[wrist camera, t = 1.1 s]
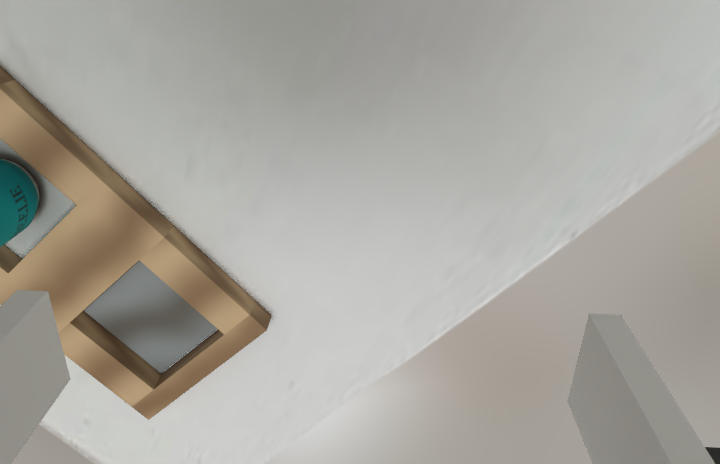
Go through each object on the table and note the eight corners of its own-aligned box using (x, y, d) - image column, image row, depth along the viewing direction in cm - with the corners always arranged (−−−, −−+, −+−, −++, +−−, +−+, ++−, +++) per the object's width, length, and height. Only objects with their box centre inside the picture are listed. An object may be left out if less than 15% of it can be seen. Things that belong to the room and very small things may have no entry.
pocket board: (-115, 188, 43) (-137, 198, 41) (-9, 58, 38) (-28, 63, 37) (157, 403, 50) (148, 419, 49) (271, 315, 46) (266, 330, 44)
